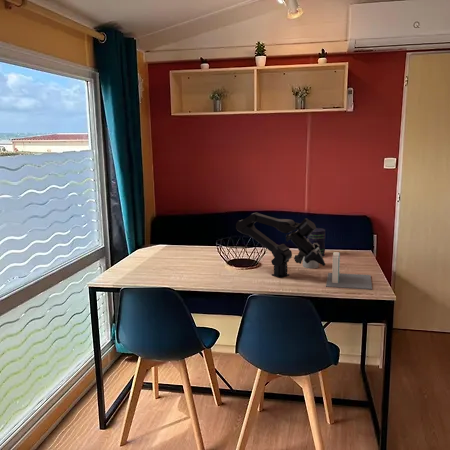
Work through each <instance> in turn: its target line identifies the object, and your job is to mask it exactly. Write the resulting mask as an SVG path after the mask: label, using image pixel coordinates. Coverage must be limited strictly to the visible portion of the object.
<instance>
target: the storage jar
mask: <svg viewBox="0 0 450 450" xmlns="http://www.w3.org/2000/svg"><path fill="white" fill-rule="evenodd" d="M307 238H308V239H309V242H310V243H311V244H314V243H318V244H319V245H320V246H319V249H320V252H321V255H322V257H325V255H326V254H325V251H326V246H325V243H326V242H325V240H326V229H325V228H321V227H316V229H315V230H314V231H313V232H312V233H311V234H309V235H308V236H307Z"/></svg>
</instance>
